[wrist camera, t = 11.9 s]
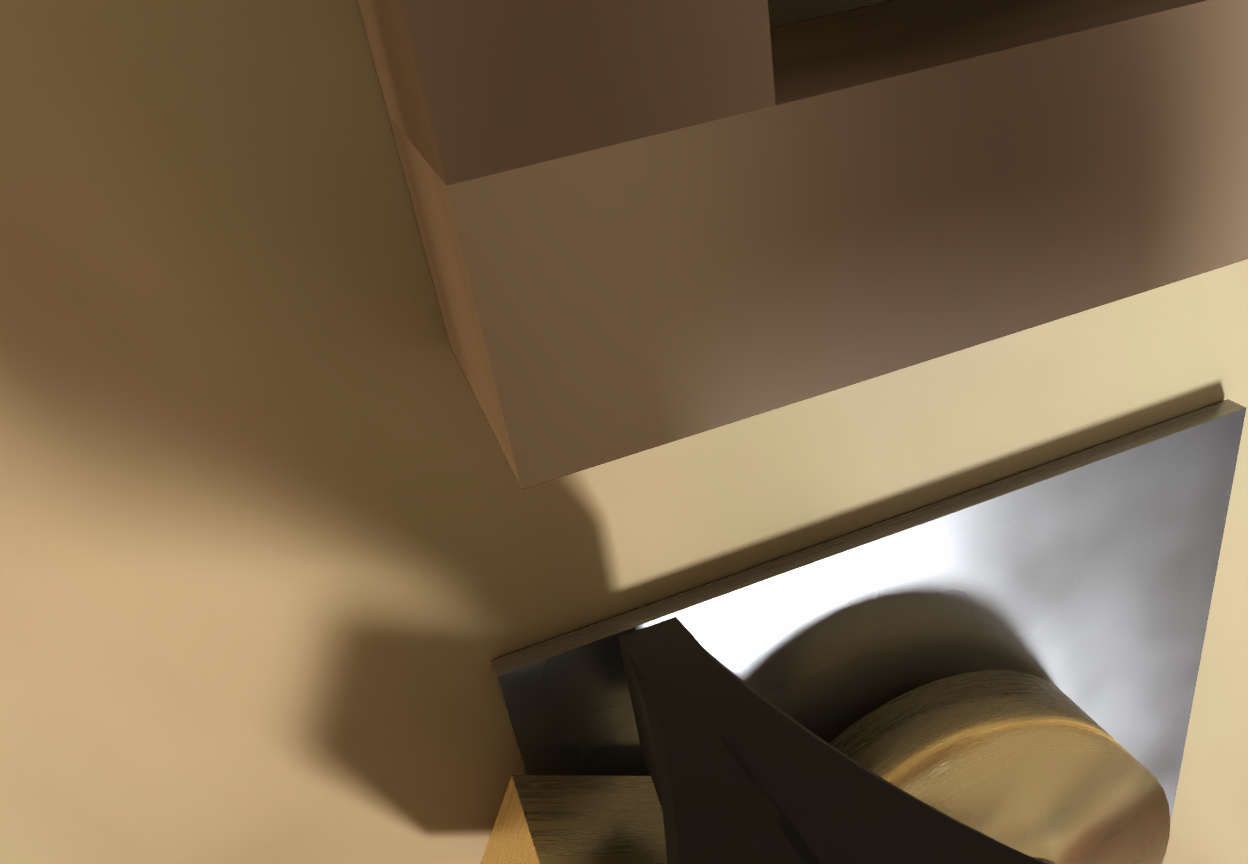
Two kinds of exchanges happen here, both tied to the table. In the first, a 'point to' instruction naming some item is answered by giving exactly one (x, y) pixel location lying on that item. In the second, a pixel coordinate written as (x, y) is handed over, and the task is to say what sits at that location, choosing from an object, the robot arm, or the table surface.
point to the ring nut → (902, 782)
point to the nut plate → (943, 608)
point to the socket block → (792, 191)
